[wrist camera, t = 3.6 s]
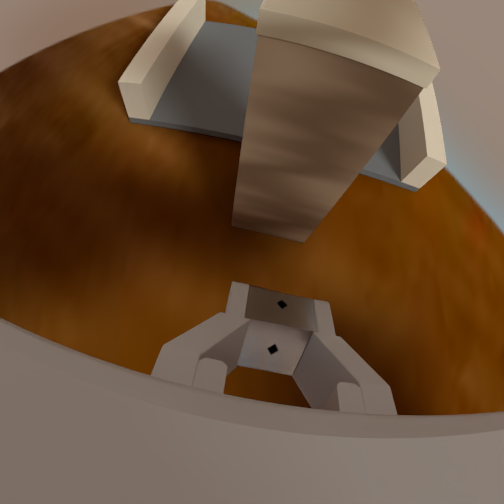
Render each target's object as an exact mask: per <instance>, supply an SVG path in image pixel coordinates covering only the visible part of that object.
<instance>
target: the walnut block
mask: <svg viewBox="0 0 504 504" xmlns="http://www.w3.org/2000/svg"><path fill="white" fill-rule="evenodd" d="M256 34H257V35H258V38H257V44H256V50H255V57H254V63H253V70H252V76H251V83H250V90H249V96H248V103H247V110H246V117H245V124H244V131H243V138H242V145H241V153H240V160H239V167H238V175H237V182H236V190H235V198H234V205H233V213H232V221H231V226H234V227H238V228H242V229H247V230H251V231H255V232H259V233H264V234H268V235H272V236H276V237H280V238H284V239H289V240H293V241H297V242H301V243H304V242H305V241H306V240H307V238H308V237H309V236H310V235H311V233H312V232H313V231H314V230H315V228H316V227H317V226H318V225H319V223H320V222H321V221H322V220H323V218H324V217H325V216H326V215H327V214H328V212H329V211H330V210H331V208H332V207H333V206H334V205H335V203H336V202H337V201H338V200H339V198H340V197H341V196H342V195H343V193H344V192H345V191H346V190H347V188H348V187H349V186H350V184H351V183H352V182H353V181H354V179H355V178H356V177H357V176H358V174H359V173H360V172H361V170H362V169H363V168H364V167H365V165H366V164H367V163H368V161H369V160H370V159H371V158H372V156H373V155H374V154H375V152H376V151H377V150H378V148H379V147H380V146H381V144H382V143H383V142H384V141H385V139H386V138H387V137H388V135H389V134H390V133H391V131H392V130H393V129H394V127H395V126H396V125H397V123H398V122H399V121H400V119H401V118H402V117H403V115H404V114H405V113H406V111H407V110H408V109H409V107H410V106H411V105H412V103H413V102H414V101H415V99H416V98H417V96H418V95H419V94H420V92H421V91H422V90H423V88H425V89H427V87H428V86H429V85H430V83H431V82H432V81H433V79H434V78H435V76H436V75H437V74H438V72H439V71H440V67H439V64H438V60H437V57H436V54H435V51H434V48H433V45H432V42H431V39H430V37H429V34H428V31H427V28H426V26H425V23H424V20H423V18H422V16H421V13H420V11H419V8H418V6H417V4H416V2H415V1H413V0H264V1H263V3H262V5H261V7H260V10H259V17H258V23H257V29H256Z"/></svg>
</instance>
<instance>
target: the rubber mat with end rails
mask: <svg viewBox="0 0 504 504" xmlns="http://www.w3.org/2000/svg"><path fill="white" fill-rule="evenodd" d="M205 2H206V0H178V1H177V2H176V4H175V5H174V6H173V7H172V8H171V9H170V11H169V12H168V13H167V14H166V16H165V17H164V18H163V19H162V21H161V22H160V23H159V24H158V26H157V27H156V28H155V30H154V31H153V32H152V33H151V35H150V36H149V37H148V39H147V40H146V41H145V43H144V44H143V46H142V47H141V48H140V50H139V51H138V53H137V54H136V55H135V57H134V58H133V60H132V61H131V63H130V64H129V66H128V67H127V69H126V70H125V72H124V73H123V75H122V76H121V78H120V79H119V81H118V84H119V87H120V91H121V94H122V97H123V101H124V104H125V107H126V110H127V113H128V117H129V120H130V122H131V123H139V124H146V125H153V126H159V127H166V128H172V129H178V130H184V131H189V132H195V133H200V134H205V135H211V136H216V137H221V138H226V139H230V140H235V141H240V142H242V138H243V131H244V124H245V117H246V110H247V103H248V96H249V90H250V83H251V76H252V70H253V63H254V57H255V50H256V44H257V38H258V35H257V34H256V29H255V28H250V27H244V26H238V25H231V24H224V23H217V22H209V21H205ZM446 164H447V162H446V154H445V147H444V141H443V135H442V128H441V122H440V117H439V111H438V107H437V102H436V97H435V93H434V88H433V84H432V82H431V83H430V85H429V86H428V87H427V89H425V88H423V90H422V91H421V92H420V94H419V95H418V96H417V98H416V99H415V101H414V102H413V103H412V105H411V106H410V107H409V109H408V110H407V111H406V113H405V114H404V115H403V117H402V118H401V119H400V121H399V122H398V123H397V125H396V126H395V127H394V129H393V130H392V131H391V133H390V134H389V135H388V137H387V138H386V139H385V141H384V142H383V143H382V144H381V146H380V147H379V148H378V150H377V151H376V152H375V154H374V155H373V156H372V158H371V159H370V160H369V161H368V163H367V164H366V165H365V167H364V168H363V169H362V170H361V172H360V174H364V175H367V176H370V177H373V178H376V179H379V180H382V181H385V182H388V183H391V184H394V185H397V186H400V187H402V188H405V189H408V190H411V191H414V192H416V191H417V190H418V189H419V188H421V187H422V186H423V185H424V184H425V183H426V182H427V181H429V180H430V179H431V178H432V177H433V176H434V175H435V174H437V173H438V172H439V171H440V170H441V169H442V168H443V167H444V166H446Z"/></svg>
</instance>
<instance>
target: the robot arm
mask: <svg viewBox="0 0 504 504" xmlns="http://www.w3.org/2000/svg"><path fill="white" fill-rule="evenodd" d="M237 365H238V366H244V367H249V368H255V369H261V370H267V371H271V372H276V373H281V374H286V375H291V376H292V377H293V379H294V381H295V382H296V384H297V386H298V387H299V389H300V390H301V392H302V394H303V395H304V397H305V398H306V400H307V402H308V403H309V405H310V406H311V408H304V407H297V406H290V405H283V404H276V403H270V402H264V401H258V400H253V399H247V398H242V397H237V396H232V395H227V394H223V391H224V385H225V379H226V376H227V375H228V374H229V373H230V372H232V371H233V370H234V369H235V368H236V367H237ZM0 504H504V411H502V412H491V413H479V414H461V415H397V411H396V407H395V404H394V400H393V396H392V392H391V389H390V386H389V385H388V384H387V383H386V382H385V381H384V380H383V379H382V378H381V377H380V376H379V375H378V374H377V373H376V372H375V371H374V370H373V369H372V368H371V367H370V366H369V365H368V364H367V363H366V362H365V361H364V360H363V359H362V358H361V357H360V356H359V355H358V354H357V353H356V352H355V351H354V350H353V349H352V348H351V347H350V346H349V345H348V344H347V343H346V342H345V341H344V340H343V339H342V338H341V337H340V336H336V333H335V328H334V323H333V319H332V314H331V309H330V304H329V303H328V302H327V301H322V300H316V299H309V298H304V297H299V296H294V295H288V294H283V293H281V292H277V291H273V290H268V289H264V288H260V287H256V286H252V285H249V284H244V283H240V282H235V281H233V282H232V284H231V289H230V293H229V297H228V302H227V306H226V310H225V313H222V312H220V313H218V314H216V315H214V316H213V317H211V318H209V319H208V320H206V321H204V322H202V323H201V324H199V325H197V326H196V327H194V328H192V329H190V330H189V331H187V332H185V333H183V334H182V335H180V336H178V337H176V338H175V339H173V340H171V341H169V342H168V343H166V344H164V345H163V346H162V349H161V351H160V354H159V356H158V358H157V361H156V363H155V366H154V368H153V371H152V373H151V376H150V375H147V374H144V373H140V372H137V371H134V370H131V369H127V368H124V367H121V366H118V365H115V364H112V363H109V362H106V361H103V360H100V359H97V358H95V357H92V356H89V355H86V354H84V353H81V352H78V351H76V350H73V349H70V348H68V347H65V346H63V345H60V344H58V343H55V342H53V341H51V340H48V339H46V338H43V337H41V336H39V335H36V334H34V333H32V332H30V331H27V330H25V329H23V328H21V327H19V326H17V325H14V324H12V323H10V322H8V321H6V320H4V319H2V318H0Z"/></svg>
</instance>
